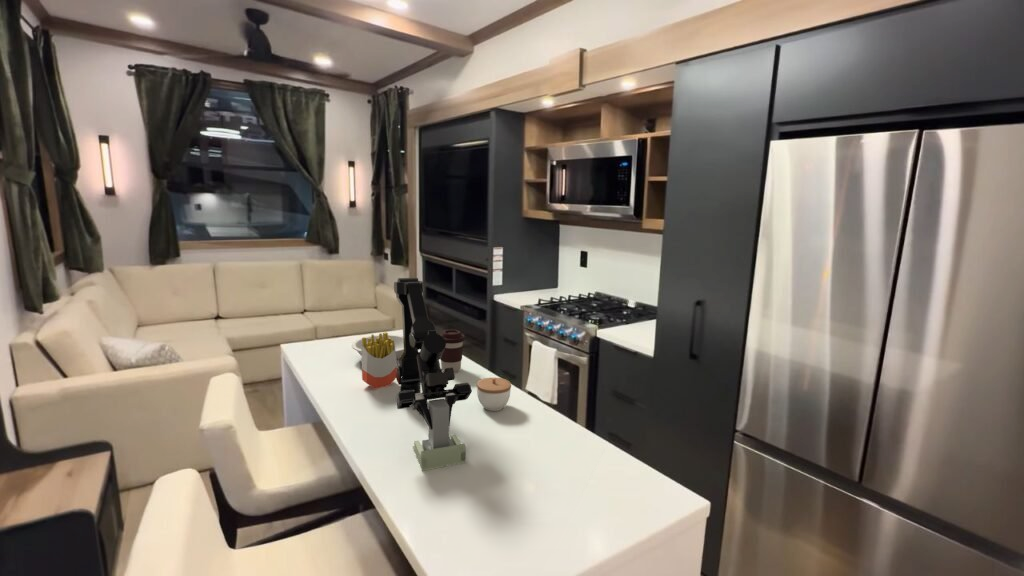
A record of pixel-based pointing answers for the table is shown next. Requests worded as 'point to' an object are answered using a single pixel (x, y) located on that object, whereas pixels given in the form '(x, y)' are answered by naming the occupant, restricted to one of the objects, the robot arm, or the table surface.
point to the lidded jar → (493, 393)
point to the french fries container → (378, 361)
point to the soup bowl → (396, 338)
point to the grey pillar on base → (438, 426)
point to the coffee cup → (452, 350)
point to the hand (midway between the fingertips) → (440, 427)
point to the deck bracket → (440, 455)
